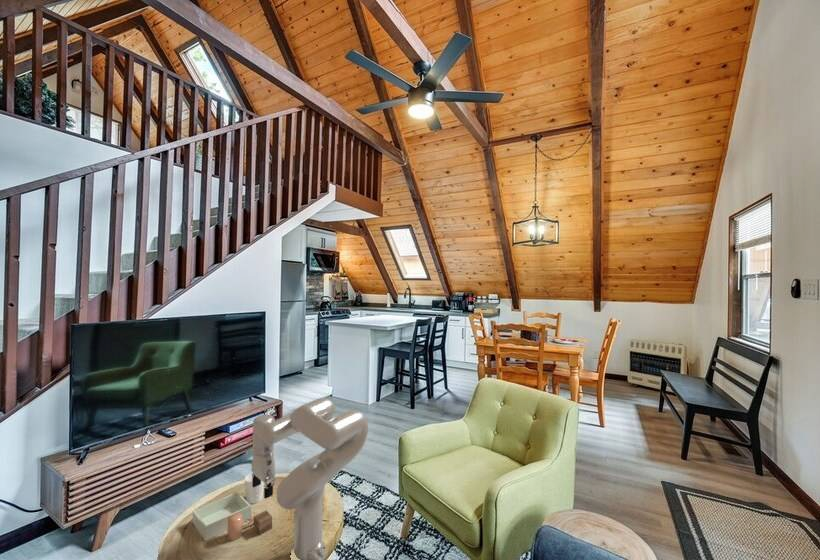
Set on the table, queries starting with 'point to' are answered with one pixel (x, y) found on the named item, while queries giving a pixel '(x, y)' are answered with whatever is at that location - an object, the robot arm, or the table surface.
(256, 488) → the white cup
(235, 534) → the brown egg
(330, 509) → the table surface
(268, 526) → the cube
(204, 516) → the tote
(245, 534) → the table surface
